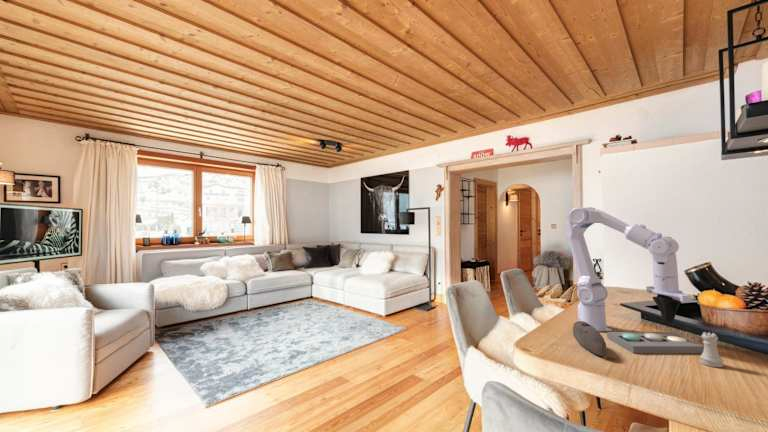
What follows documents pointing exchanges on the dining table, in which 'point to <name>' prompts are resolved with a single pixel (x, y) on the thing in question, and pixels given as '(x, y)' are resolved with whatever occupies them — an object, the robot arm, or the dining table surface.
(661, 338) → the grey button
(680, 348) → the button board
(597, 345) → the perforated stone tool
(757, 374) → the dining table surface
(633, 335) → the teal button
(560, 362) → the dining table surface
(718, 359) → the rook chess piece
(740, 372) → the dining table surface
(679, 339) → the cream button
